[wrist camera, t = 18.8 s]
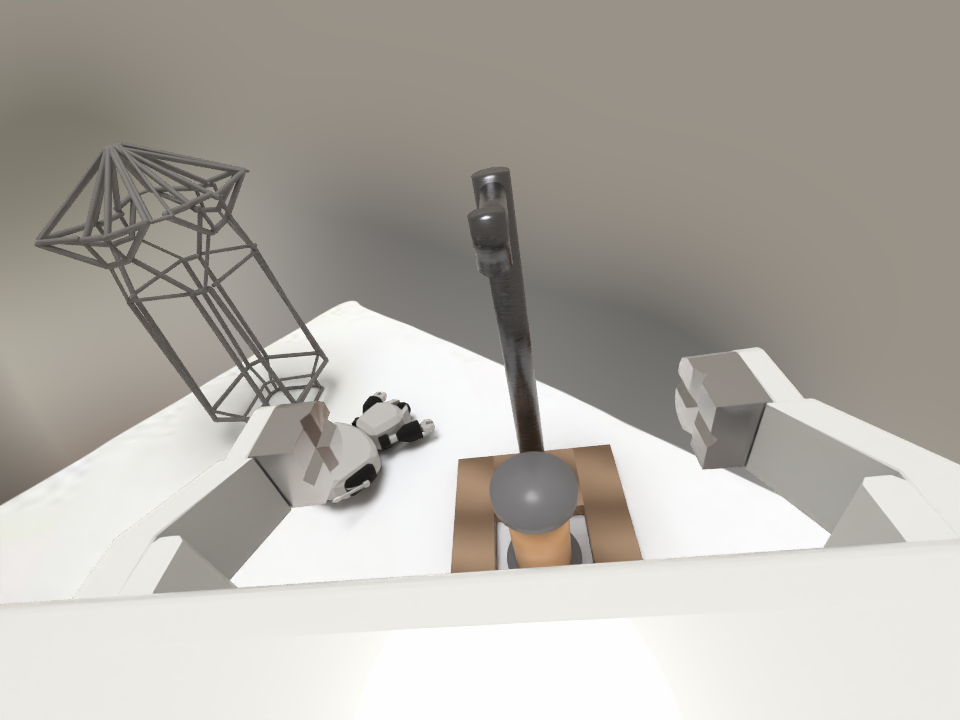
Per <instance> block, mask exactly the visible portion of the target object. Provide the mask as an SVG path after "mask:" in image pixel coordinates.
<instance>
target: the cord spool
mask: <svg viewBox="0 0 960 720" xmlns="http://www.w3.org/2000/svg"><path fill="white" fill-rule="evenodd" d="M489 493H490V498H491V502H492V506H493V509H494V511H495V514H496V515H497V517H498V518H499V519H500V520H501V522H502V523H504V524H505V525H506V526H508V527H509V531H510V535H511V539H512V540H511V542H510V545H509V548H508V553H507V562H508V567H509V569H522V568H536V567H551V566H565V565H580V564H582V555H581V550H580V547H579V544H578V542H577V541H576V539H575V538H574V536H573V535H572V534H571V533H570V524H569V519H570V518H571V516H572V515H573V513H574V511H575V509H576V507H577V503H578V484H577V479H576V476H575V474H574V472H573V470H572V469H571V468H570V466H569V465H568V464H567V463H566V462H564V461H563V460H562V459H560V458H559V457H557V456H555V455H552V454H549V453H545V452H536V451H532V452H524V453H520V454H517V455H515V456H512V457H510V458H509V459H507V460H506V461H504V462H503V463H502V464H501V465H500V466H499V467H498V468H497V469H496V471H495V472H494V474H493V476H492V478H491V481H490V486H489Z"/></svg>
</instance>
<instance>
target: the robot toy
mask: <svg viewBox="0 0 960 720" xmlns="http://www.w3.org/2000/svg"><path fill="white" fill-rule="evenodd" d="M386 397H387V395H386V393H384V392H383V393H382V394H381V392H376V393H375V394H374V395H373V396H370V397H369V398H368V399H367V401H366V402H365V403H364V405H363V415H362V416H361V417H357V418H355V420H354V421H353V422H352V425H349V424H345V423H337V422H335V423H333V424H335V425H337V427H338V429H339V431H340V433H341V437H342V441H343V451H342V457H341V460H340V463H339V464H338V465H337V466H336V467H335V468H334V469H333V470H332V471H331V474H332V476H333V478H334V481H333V484H332V487H331V490H330V493H329V496H328V499H327V500H333V502H334V503H337V502H339V501H341V500H342V499H347V498H350V497H351V496H353V495H356V494H357V493H358V492H360V491H361V490H362V489H364V488H367V487H369V486H370V483H371V482H372V481H373V480H374V479H375V478H376V477H377V473H378V472H379V470H380V468H381V459H380V457H379V454H378V451H377V449H378V450H384V449H387V448H390V447H391V444H392V443H395V442H397V441H402V442H412V441H415V440H417V439H420V438H423V434H422V432H431V431H432V430H434V428H435V425H434V423H433V421H432V420H430V419H427V420H424V421H423V422H421V423H420V424H419V423H418V421H417V420H415V421H413V422H412V421H411V418H410V411H411V409H410V406H409V405H408V404H407V403H405V402H399V400H394V399H393V400H390V401H388V402H384V403H383V401H385V400H386Z"/></svg>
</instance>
